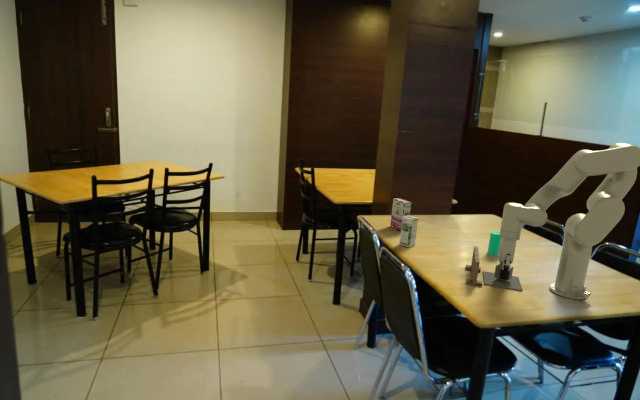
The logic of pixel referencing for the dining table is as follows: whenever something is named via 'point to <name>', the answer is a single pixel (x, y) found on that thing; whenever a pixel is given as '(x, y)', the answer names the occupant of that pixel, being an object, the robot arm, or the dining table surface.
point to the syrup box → (408, 231)
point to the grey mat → (502, 281)
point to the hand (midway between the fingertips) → (503, 275)
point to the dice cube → (498, 270)
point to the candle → (494, 243)
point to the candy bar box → (399, 212)
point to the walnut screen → (474, 269)
